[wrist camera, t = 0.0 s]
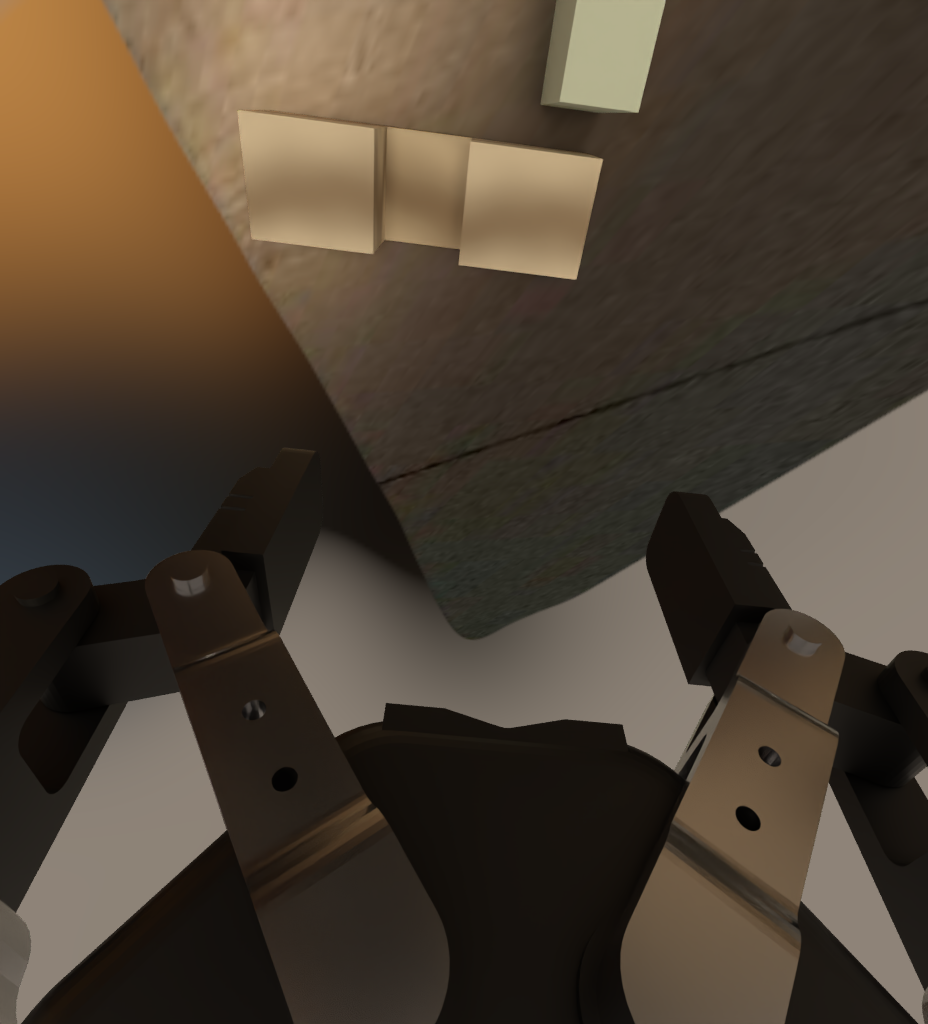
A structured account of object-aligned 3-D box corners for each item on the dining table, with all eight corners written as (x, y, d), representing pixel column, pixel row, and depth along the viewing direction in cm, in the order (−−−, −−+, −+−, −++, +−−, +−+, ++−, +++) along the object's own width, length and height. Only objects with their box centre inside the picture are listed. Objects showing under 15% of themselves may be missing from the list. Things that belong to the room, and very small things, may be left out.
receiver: (271, 110, 32) (236, 109, 28) (586, 153, 33) (603, 159, 28) (280, 223, 36) (251, 239, 31) (565, 259, 36) (576, 279, 32)
